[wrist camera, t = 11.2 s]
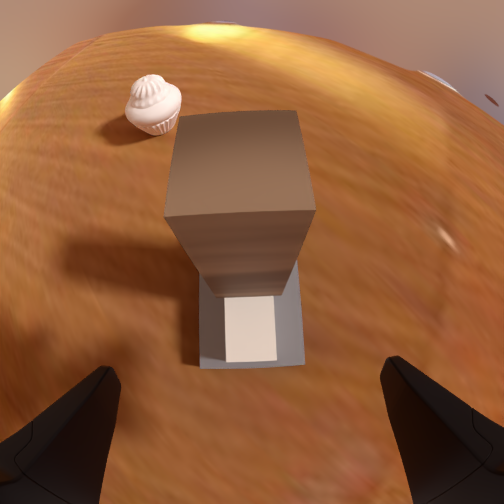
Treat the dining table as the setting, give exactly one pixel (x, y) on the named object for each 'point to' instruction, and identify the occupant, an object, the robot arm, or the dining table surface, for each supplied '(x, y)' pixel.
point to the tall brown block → (240, 198)
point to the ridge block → (251, 329)
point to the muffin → (153, 105)
